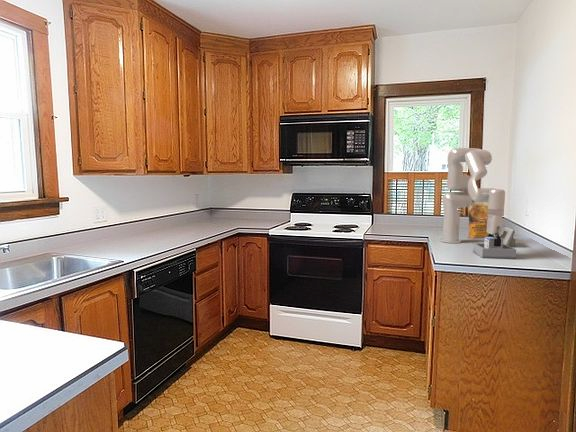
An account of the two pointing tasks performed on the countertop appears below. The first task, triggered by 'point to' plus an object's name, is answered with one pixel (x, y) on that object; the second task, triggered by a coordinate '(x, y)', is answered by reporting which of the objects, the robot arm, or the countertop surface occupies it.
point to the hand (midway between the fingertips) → (493, 244)
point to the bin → (494, 252)
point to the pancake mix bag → (478, 219)
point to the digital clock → (508, 237)
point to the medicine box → (492, 243)
